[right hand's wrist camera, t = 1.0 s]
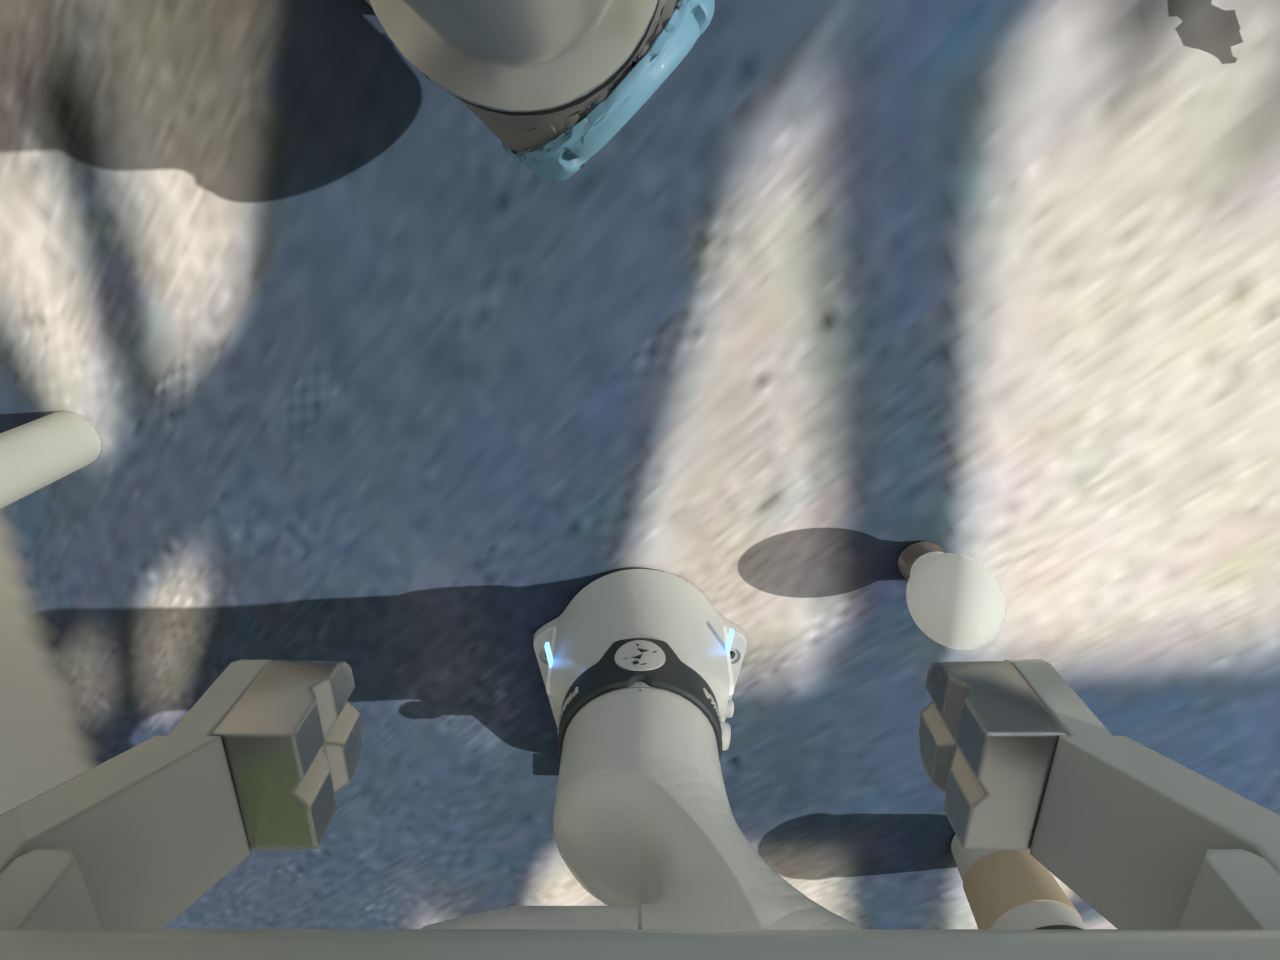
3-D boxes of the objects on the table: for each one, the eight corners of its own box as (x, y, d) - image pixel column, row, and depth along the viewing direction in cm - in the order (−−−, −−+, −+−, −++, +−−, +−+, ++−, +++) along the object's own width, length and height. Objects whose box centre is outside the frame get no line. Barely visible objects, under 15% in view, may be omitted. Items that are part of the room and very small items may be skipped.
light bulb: (876, 591, 64) (920, 667, 54) (892, 520, 62) (942, 586, 52) (952, 597, 65) (1011, 674, 54) (972, 526, 62) (1038, 593, 52)
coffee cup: (926, 830, 74) (992, 978, 60) (1012, 794, 73) (1101, 939, 59) (959, 887, 77) (1030, 1042, 63) (1043, 854, 76) (1135, 1005, 62)
